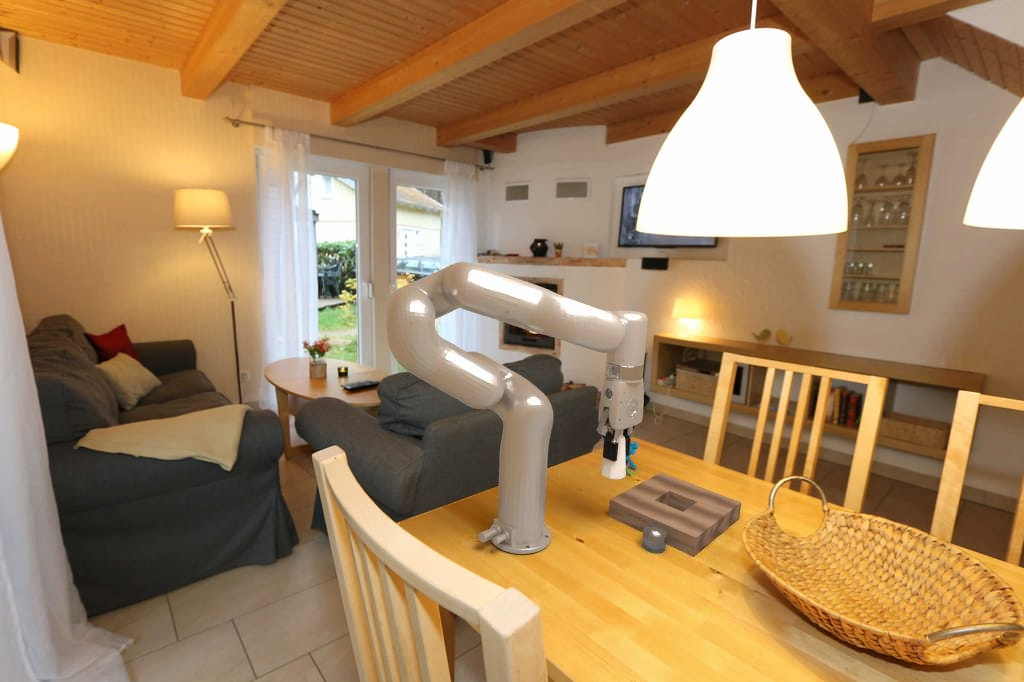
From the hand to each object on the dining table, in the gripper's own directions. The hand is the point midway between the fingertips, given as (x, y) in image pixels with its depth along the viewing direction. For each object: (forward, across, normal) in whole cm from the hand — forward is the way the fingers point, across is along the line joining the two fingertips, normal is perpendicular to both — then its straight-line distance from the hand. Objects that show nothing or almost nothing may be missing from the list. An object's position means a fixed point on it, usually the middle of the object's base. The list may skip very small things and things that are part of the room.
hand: (615, 456), depth 105 cm
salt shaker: (+4, 0, 0) cm, 4 cm away
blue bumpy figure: (+16, +28, +15) cm, 35 cm away
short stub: (+16, +1, -10) cm, 19 cm away
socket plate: (+16, +15, -7) cm, 23 cm away
